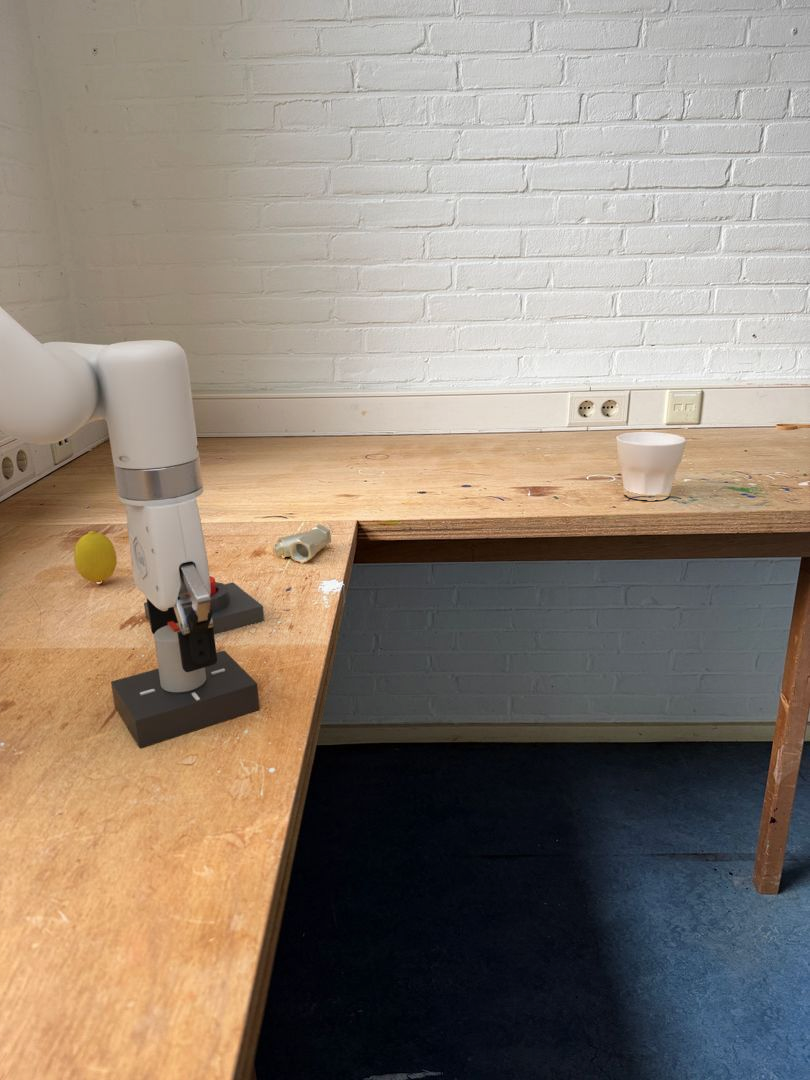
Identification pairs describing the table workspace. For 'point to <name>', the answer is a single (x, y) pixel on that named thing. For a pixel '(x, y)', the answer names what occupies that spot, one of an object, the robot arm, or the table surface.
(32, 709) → the table surface
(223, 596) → the switch block
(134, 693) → the panel
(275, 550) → the pipe fitting
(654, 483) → the cup
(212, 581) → the power button
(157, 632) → the timer dial
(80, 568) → the lemon
